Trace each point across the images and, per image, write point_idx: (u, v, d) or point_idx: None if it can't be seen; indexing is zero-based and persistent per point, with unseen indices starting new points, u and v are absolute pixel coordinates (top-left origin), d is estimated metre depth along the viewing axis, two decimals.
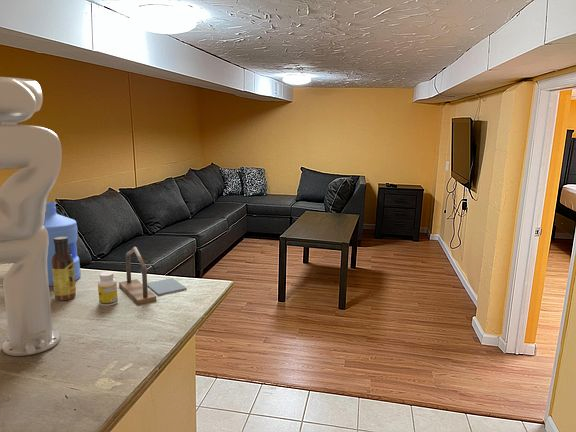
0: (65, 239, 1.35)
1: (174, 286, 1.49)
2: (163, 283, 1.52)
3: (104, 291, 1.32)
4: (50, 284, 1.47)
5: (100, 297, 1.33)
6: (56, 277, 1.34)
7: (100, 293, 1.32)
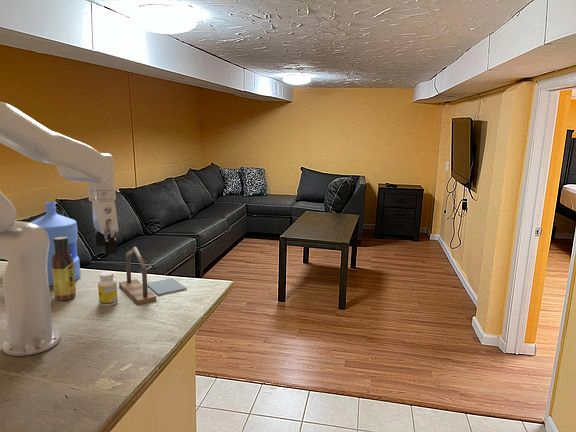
0: (65, 239, 1.35)
1: (174, 286, 1.49)
2: (163, 283, 1.52)
3: (104, 291, 1.32)
4: (50, 284, 1.47)
5: (100, 297, 1.33)
6: (56, 277, 1.34)
7: (100, 293, 1.32)
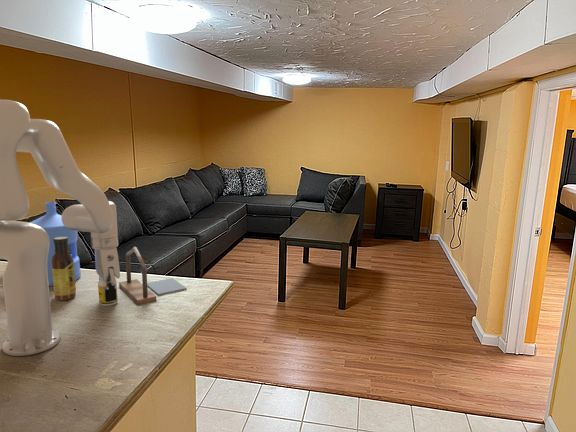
0: (65, 239, 1.35)
1: (174, 286, 1.49)
2: (163, 283, 1.52)
3: (104, 291, 1.32)
4: (50, 284, 1.47)
5: (100, 297, 1.33)
6: (56, 277, 1.34)
7: (100, 293, 1.32)
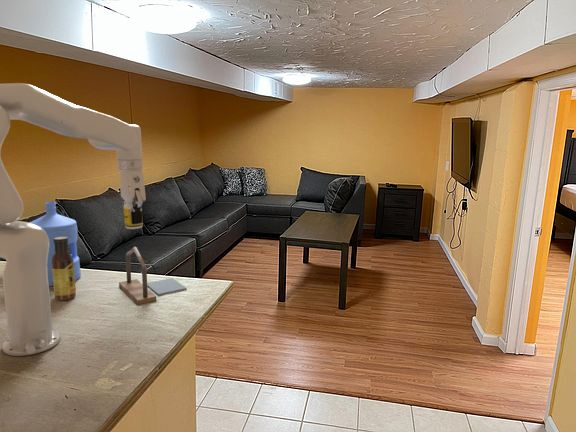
0: (65, 239, 1.35)
1: (174, 286, 1.49)
2: (163, 283, 1.52)
3: (130, 214, 1.34)
4: (50, 284, 1.47)
5: (126, 220, 1.35)
6: (56, 277, 1.34)
7: (126, 216, 1.35)
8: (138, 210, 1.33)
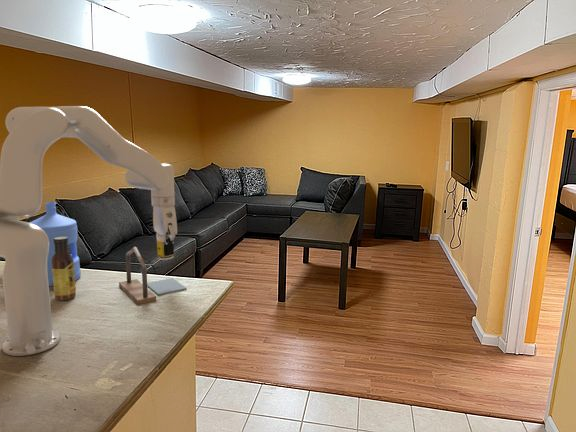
0: (65, 239, 1.35)
1: (174, 286, 1.49)
2: (163, 283, 1.52)
3: (163, 246, 1.44)
4: (50, 284, 1.47)
5: (159, 252, 1.45)
6: (56, 277, 1.34)
7: (159, 248, 1.45)
8: (170, 243, 1.43)
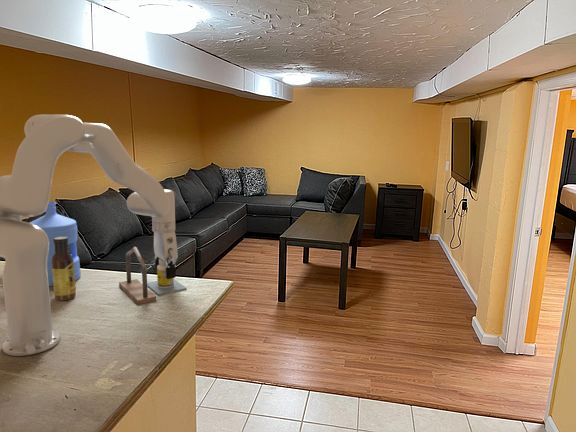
0: (65, 239, 1.35)
1: (174, 286, 1.49)
2: None
3: (163, 275, 1.46)
4: (50, 284, 1.47)
5: (159, 280, 1.47)
6: (56, 277, 1.34)
7: (159, 276, 1.46)
8: (172, 265, 1.43)
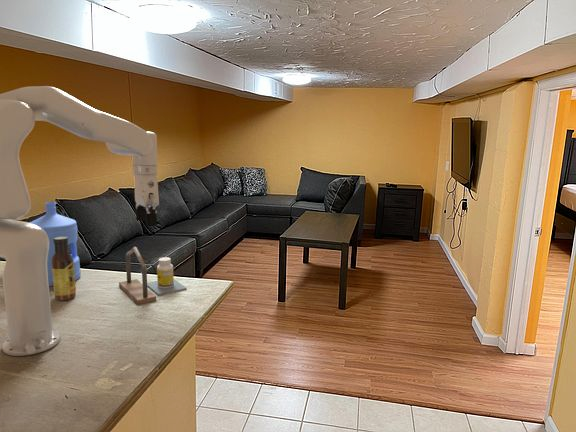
0: (65, 239, 1.35)
1: (174, 286, 1.49)
2: None
3: (163, 275, 1.46)
4: (50, 284, 1.47)
5: (159, 280, 1.47)
6: (56, 277, 1.34)
7: (159, 276, 1.46)
8: (153, 211, 1.35)
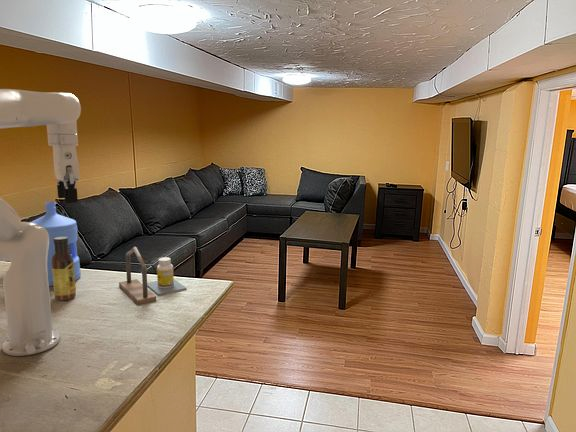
0: (65, 239, 1.35)
1: (174, 286, 1.49)
2: None
3: (163, 275, 1.46)
4: (50, 284, 1.47)
5: (159, 280, 1.47)
6: (56, 277, 1.34)
7: (159, 276, 1.46)
8: (72, 186, 1.19)
